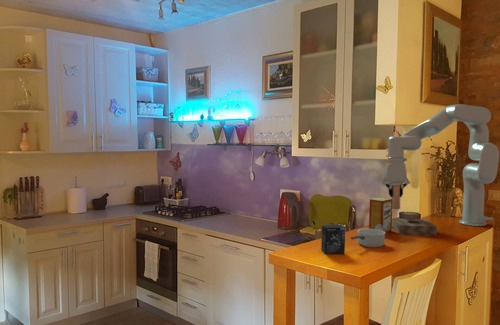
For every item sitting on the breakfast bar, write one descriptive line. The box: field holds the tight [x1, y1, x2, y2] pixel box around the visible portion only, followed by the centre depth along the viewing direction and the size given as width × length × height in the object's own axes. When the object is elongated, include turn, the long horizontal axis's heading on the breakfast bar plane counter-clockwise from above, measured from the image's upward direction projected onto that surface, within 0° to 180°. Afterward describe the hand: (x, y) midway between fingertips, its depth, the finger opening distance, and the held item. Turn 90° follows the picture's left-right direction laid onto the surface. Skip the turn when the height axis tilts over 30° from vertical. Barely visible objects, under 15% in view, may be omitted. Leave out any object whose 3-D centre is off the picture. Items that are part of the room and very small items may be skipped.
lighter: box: [375, 220, 391, 232], centre depth 189 cm, size 7×2×8 cm, turn 43°
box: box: [320, 223, 346, 255], centre depth 163 cm, size 8×6×11 cm
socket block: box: [392, 217, 438, 237], centre depth 199 cm, size 16×16×4 cm
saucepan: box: [350, 228, 387, 248], centre depth 172 cm, size 12×20×6 cm, turn 133°
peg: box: [391, 184, 401, 210], centre depth 213 cm, size 4×4×12 cm
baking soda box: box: [368, 197, 393, 234], centre depth 198 cm, size 10×6×16 cm
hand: (395, 196), depth 213 cm, fingers closed on peg, 4 cm apart
